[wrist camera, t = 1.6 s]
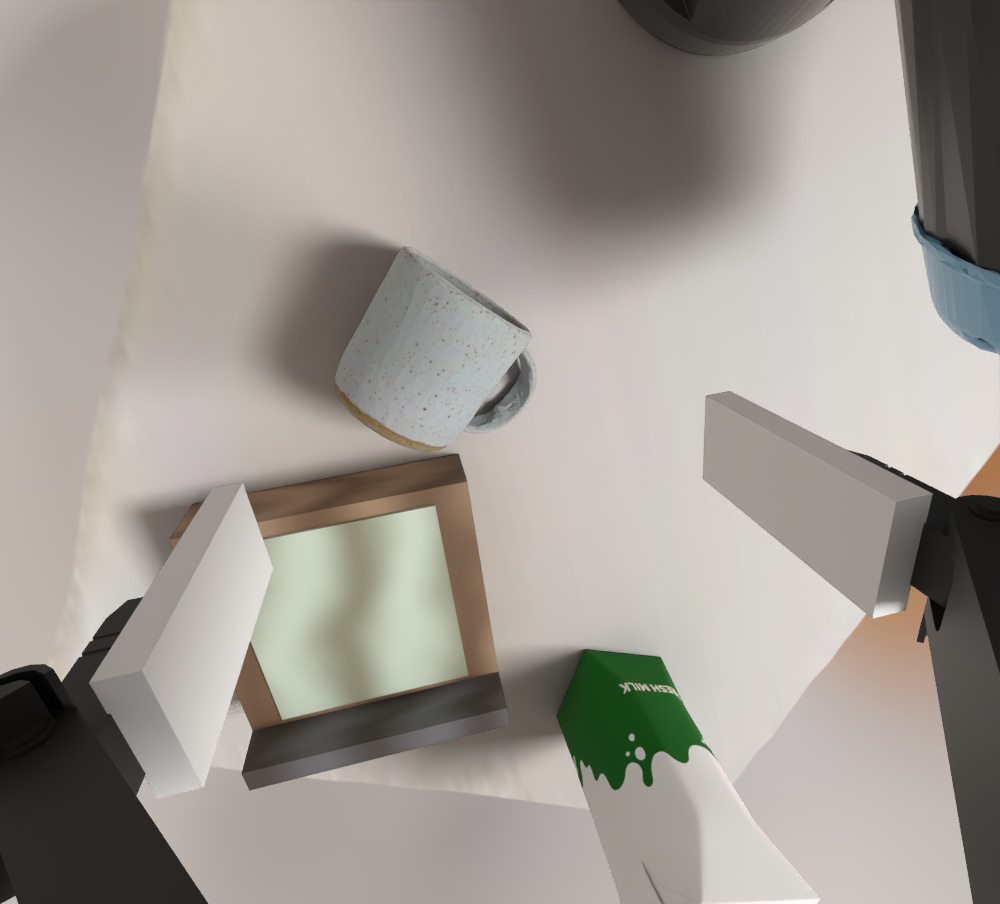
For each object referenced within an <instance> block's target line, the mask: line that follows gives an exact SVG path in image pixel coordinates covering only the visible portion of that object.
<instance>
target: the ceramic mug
mask: <svg viewBox="0 0 1000 904" xmlns="http://www.w3.org/2000/svg"><path fill="white" fill-rule="evenodd" d="M531 337H532V335H531V332H530V331H529V330H528V329H527V328H526V327H525V326H524V325H523V324H521V323H520V322H519V321H518V320H516V319H515V318H514V317H513V316H511V315H510V314H509V313H508V312H506V311H505V310H504V309H503V308H501V307H500V306H498V305H497V304H496V303H495V302H493V301H492V300H491V299H489V298H488V297H487V296H485V295H484V294H482V293H480V292H479V291H477V290H476V289H475V288H473V287H472V286H471V285H470V284H468V283H467V282H465V281H464V280H462V279H461V278H459V277H458V276H456V275H455V274H453V273H452V272H451V271H450V270H448V269H446V268H444V267H443V266H442V265H440V264H438V263H437V262H435V261H433V260H432V259H430V258H429V257H427V256H426V255H424V254H422V253H421V252H419V251H418V250H414V249H412V248H410V247H403V248H402V249H400V251H399V252H398V254H397V256H396V258H395V260H394V262H393V263H392V265H391V267H390V269H389V271H388V273H387V275H386V276H385V278H384V280H383V282H382V283H381V285H380V287H379V289H378V291H377V293H376V294H375V296H374V298H373V300H372V302H371V304H370V305H369V307H368V309H367V311H366V313H365V315H364V317H363V319H362V321H361V322H360V324H359V326H358V328H357V330H356V331H355V333H354V335H353V337H352V338H351V340H350V342H349V344H348V346H347V347H346V349H345V351H344V353H343V355H342V357H341V360H340V363H339V366H338V369H337V372H336V375H335V388H336V391H337V393H338V395H339V398H340V399H341V401H342V402H343V404H344V405H345V407H346V408H347V409H348V410H349V411H350V412H351V413H352V414H353V415H354V416H355V417H356V418H357V419H358V420H360V421H361V422H362V423H363V424H365V425H366V426H367V427H369V428H370V429H372V430H373V431H375V432H376V433H378V434H380V435H381V436H383V437H385V438H387V439H389V440H391V441H393V442H395V443H397V444H399V445H402V446H405V447H408V448H411V449H414V450H419V451H435V450H440V449H443V448H445V447H446V446H447V445H448V444H449V443H451V442H452V441H453V440H454V439H455V438H456V437H457V436H458V435H459V434H460V433H461V432H462V431H465V432H470V433H488V432H491V431H494V430H497V429H499V428H501V427H503V426H504V425H506V424H507V423H509V422H510V421H511V420H513V419H514V418H515V417H516V416H517V415H518V414H519V413H520V412H521V411H522V409H523V408H524V407H525V406H526V404H527V403H528V401H529V400H530V398H531V396H532V394H533V392H534V389H535V386H536V369H535V364H534V362H533V360H532V358H531V356H530V354H529V352H528V351H527V350H526V349H525V347H526V346H527V344H528V343H529V341H530V339H531ZM518 356H519V359H520V364H521V370H520V375H519V376H518V379H517V382H516V383H515V385H514V386H513V387H512V388H511V390H510V391H509V392H508V393H507V395H506V396H505V397H504V398H503V399H502V400H501V402H500V403H498V404H497V405H495V407H494V408H493V410H492V411H490V412H488V413H486V414H483V415H479V416H474V415H475V414H476V412H477V411H478V409H479V408H480V406H481V404H482V403H483V402H484V400H485V399H486V398H487V397H488V395H489V394H490V393H491V391H492V390H493V389H494V388H495V386H496V385H497V384H498V382H499V381H500V380H501V379H502V377H503V376H504V375H505V373H506V372H507V371H508V369H509V368H510V366H511V365H512V364H513V363H514V361H515V360H516V359H517V358H518Z"/></svg>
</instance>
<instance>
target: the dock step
mask: <svg viewBox="0 0 1000 904" xmlns="http://www.w3.org/2000/svg"><path fill="white" fill-rule="evenodd" d="M247 496H248V499H249V502H250V504H251V507H252V510H253V513H254V516H255V519H256V521H257V524H258V527H259V530H260V533H261V535H262V538H263V541H264V544H265V547H266V549H267V552H268V555H269V558H270V561H271V563H272V566H273V570H272V573H271V577H270V580H269V583H268V586H267V589H266V592H265V595H264V599H263V602H262V605H261V608H260V611H259V614H258V618H257V621H256V624H255V627H254V630H253V633H252V636H251V640H250V643H249V646H248V649H247V652H246V655H245V658H244V662H243V665H242V668H241V671H240V674H239V677H238V680H237V684H236V687H235V691H236V693H237V696H238V698H239V700H240V702H241V705H242V707H243V709H244V712H245V714H246V716H247V718H248V721H249V723H250V725H251V727H252V730H253V732H252V736H251V740H250V744H249V747H248V751H247V755H246V759H245V763H244V767H243V770H242V776H243V778H244V780H245V782H246V784H247V786H248V788H249V790H253V789H257V788H261V787H265V786H269V785H273V784H277V783H281V782H285V781H289V780H293V779H297V778H301V777H305V776H309V775H313V774H317V773H321V772H324V771H328V770H332V769H336V768H340V767H344V766H348V765H352V764H356V763H360V762H364V761H368V760H372V759H376V758H380V757H384V756H388V755H392V754H396V753H400V752H404V751H408V750H412V749H416V748H420V747H424V746H428V745H432V744H436V743H440V742H444V741H447V740H451V739H455V738H459V737H463V736H467V735H471V734H475V733H479V732H483V731H487V730H491V729H495V728H499V727H503V726H507V725H510V723H509V717H508V710H507V705H506V701H505V697H504V693H503V689H502V685H501V681H500V677H499V673H498V667H497V661H496V655H495V649H494V643H493V637H492V631H491V624H490V618H489V612H488V606H487V600H486V594H485V588H484V582H483V576H482V570H481V563H480V557H479V551H478V545H477V539H476V533H475V527H474V521H473V515H472V509H471V502H470V496H469V490H468V484H467V480H466V476H465V473H464V470H463V467H462V463H461V460H460V457H459V454H455V455H450V456H445V457H439V458H434V459H429V460H424V461H418V462H413V463H408V464H402V465H397V466H392V467H386V468H381V469H376V470H370V471H365V472H360V473H354V474H349V475H344V476H339V477H333V478H328V479H323V480H317V481H312V482H307V483H301V484H296V485H291V486H285V487H280V488H275V489H269V490H264V491H259V492H253V493H248V494H247ZM202 504H203V502H200V503H195V504H193V505H192V506H191V508H190V509H189V511H188V512H187V514H186V515H185V517H184V518H183V520H182V521H181V523H180V524H179V525H178V527H177V528H176V530H175V531H174V533H173V534H172V536H171V537H170V539H169V541H170V543H171V546H172V548H173V550H174V548H175V546H176V545H177V543H178V542H179V540H180V539H181V537H182V535H183V534H184V532H185V531H186V529H187V528H188V526H189V524H190V523H191V521H192V520H193V518H194V517H195V515H196V513H197V512H198V510H199V509H200V507H201V506H202Z"/></svg>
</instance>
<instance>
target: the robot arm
mask: <svg viewBox="0 0 1000 904" xmlns="http://www.w3.org/2000/svg"><path fill="white" fill-rule="evenodd" d="M619 1H620V2H621V3H622V5H623V6H624V7H625V9H626V10H627V11H628V12H629V13H630V14H631V16H632V17H633V18H634V19H635V20H636V21H637V22H638V23H639V24H640V25H642V26H643V27H644V28H645V29H646V30H647V31H649V32H650V33H651V34H653V35H654V36H656V37H657V38H659V39H660V40H662V41H664V42H665V43H667V44H669V45H671V46H674V47H676V48H678V49H681V50H684V51H687V52H691V53H695V54H702V55H729V54H736V53H740V52H744V51H748V50H751V49H753V48H756V47H759V46H761V45H763V44H765V43H767V42H770V41H772V40H774V39H776V38H778V37H781V36H783V35H785V34H787V33H789V32H791V31H793V30H795V29H796V28H798V27H800V26H802V25H803V24H805V23H806V22H808V21H809V20H811V19H812V18H813V17H815V16H816V15H817V14H818V13H820V12H821V11H822V10H824V9H825V8H826V7H827V6H828V5H830V4H831V3H832V2H833V1H834V0H619ZM895 7H896V16H897V25H898V33H899V42H900V51H901V59H902V68H903V77H904V85H905V94H906V103H907V111H908V120H909V129H910V137H911V146H912V155H913V163H914V172H915V181H916V189H917V198H918V203H917V205H916V206H915V210H914V214H913V216H912V217H911V219H912V228H913V232H914V235H915V237H916V238H917V240H918V242H919V243H920V244H921V245H922V249H923V254H924V260H925V265H926V271H927V276H928V282H929V287H930V293H931V297H932V300H933V303H934V306H935V308H936V310H937V312H938V314H939V316H940V317H941V318H942V320H943V321H944V322H945V323H946V324H947V326H948V327H949V328H950V329H951V330H952V331H953V332H954V333H956V334H957V335H958V336H959V337H961V338H962V339H964V340H965V341H967V342H969V343H971V344H973V345H975V346H976V347H978V348H980V349H982V350H986V351H990V352H994V353H998V354H999V355H1000V0H895ZM703 479H704V480H705V481H706V482H707V483H708V484H710V485H711V486H712V487H713V488H715V489H716V490H717V491H718V492H719V493H721V494H722V495H723V496H724V497H725V498H727V499H728V500H729V501H730V502H732V503H733V504H734V505H735V506H736V507H738V508H739V509H740V510H741V511H742V512H744V513H745V514H746V515H747V516H749V517H750V518H751V519H752V520H753V521H755V522H756V523H757V524H758V525H759V526H761V527H762V528H763V529H764V530H766V531H767V532H768V533H769V534H770V535H772V536H773V537H774V538H775V539H776V540H778V541H779V542H780V543H781V544H783V545H784V546H785V547H786V548H787V549H789V550H790V551H791V552H792V553H793V554H795V555H796V556H797V557H798V558H800V559H801V560H802V561H803V562H804V563H806V564H807V565H808V566H809V567H810V568H812V569H813V570H814V571H815V572H817V573H818V574H819V575H820V576H821V577H823V578H824V579H825V580H826V581H827V582H829V583H830V584H831V585H832V586H834V587H835V588H836V589H837V590H838V591H840V592H841V593H842V594H843V595H844V596H846V597H847V598H848V599H849V600H851V601H852V602H853V603H854V604H855V605H857V606H858V607H859V608H860V609H861V610H863V611H864V612H865V613H866V614H868V615H869V616H870V617H871V618H877V617H881V616H885V615H889V614H892V613H897V612H901V611H904V610H906V606H907V602H908V598H909V593H910V589H911V585H912V586H913V587H915V588H916V589H918V590H919V591H921V592H922V593H923V594H925V595H926V596H928V598H927V602H926V606H925V610H924V614H923V618H922V622H921V626H920V630H919V634H918V638H917V642H922V643H924V639H925V636H927V635H928V639H929V645H930V651H931V656H932V663H933V668H934V675H935V681H936V686H937V693H938V699H939V704H940V710H941V716H942V722H943V727H944V734H945V740H946V746H947V752H948V758H949V764H950V770H951V776H952V781H953V787H954V793H955V799H956V805H957V811H958V817H959V823H960V828H961V835H962V841H963V846H964V853H965V858H966V864H967V870H968V876H969V882H970V888H971V893H972V900H973V904H1000V498H997V497H992V496H982V495H970V496H962V497H958V498H956V499H955V498H953V497H951V496H949V495H947V494H945V493H943V492H941V491H939V490H937V489H935V488H933V487H931V486H929V485H927V484H925V483H923V482H921V481H919V480H917V479H915V478H913V477H911V476H909V475H905V476H904V473H902V472H900V471H898V470H896V469H894V468H892V467H890V468H889V467H888V465H886V464H884V463H882V462H880V461H878V460H876V459H874V458H872V457H870V456H867V455H864V454H860V453H856V452H853V451H849V450H846V449H844V448H842V447H840V446H838V445H836V444H834V443H832V442H830V441H828V440H826V439H824V438H822V437H820V436H818V435H816V434H814V433H812V432H810V431H808V430H806V429H804V428H802V427H800V426H798V425H796V424H794V423H792V422H790V421H788V420H786V419H784V418H782V417H780V416H778V415H776V414H774V413H772V412H770V411H768V410H766V409H764V408H762V407H760V406H758V405H756V404H754V403H752V402H750V401H748V400H746V399H744V398H743V397H741V396H739V395H737V394H735V393H733V392H731V391H728V392H722V393H717V394H712V395H706V401H705V430H704V458H703ZM272 570H273V566H272V563H271V561H270V558H269V555H268V552H267V549H266V547H265V544H264V541H263V538H262V535H261V533H260V530H259V527H258V524H257V521H256V519H255V516H254V513H253V510H252V507H251V504H250V502H249V499H248V496H247V493H246V490H245V488H244V485H243V483H238V484H233V485H227V486H222V487H217V488H212V490H211V491H210V493H209V494H208V496H207V498H206V499H205V501H204V502H203V504H202V506H201V507H200V509H199V510H198V512H197V513H196V515H195V517H194V518H193V520H192V521H191V523H190V524H189V526H188V528H187V529H186V531H185V532H184V534H183V535H182V537H181V539H180V540H179V542H178V543H177V545H176V546H175V548H174V550H173V551H172V553H171V554H170V556H169V557H168V559H167V561H166V562H165V564H164V565H163V567H162V568H161V570H160V572H159V573H158V575H157V576H156V578H155V580H154V581H153V583H152V584H151V586H150V587H149V589H148V591H147V592H146V594H145V595H144V597H141V598H136V599H132V600H127V601H126V602H125V603H124V604H123V605H122V606H120V607H119V608H118V609H117V610H116V611H114V612H113V613H112V614H111V615H110V616H109V617H107V618H106V619H105V621H104V622H103V624H102V625H101V627H100V628H99V629H98V631H97V632H96V634H95V635H94V637H93V641H90V642H89V644H88V645H87V647H86V648H85V650H84V651H83V652H82V657H79V658H78V660H77V661H76V663H75V664H74V665H73V667H72V668H71V670H70V671H69V673H68V674H67V676H66V677H65V678H64V680H63V681H62V682H61V681H60V679H59V678H58V676H57V674H56V673H55V671H54V669H52V668H51V667H49V666H47V665H45V664H41V665H28V666H24V667H21V668H17V669H13V670H10V671H8V672H6V673H4V674H2V675H0V904H1V903H3V902H5V901H6V900H8V899H10V898H12V897H14V896H16V898H17V901H18V903H19V904H208V903H207V901H206V900H205V898H204V897H203V895H202V894H201V892H200V891H199V889H198V888H197V886H196V885H195V883H194V882H193V880H192V879H191V877H190V876H189V874H188V873H187V871H186V870H185V868H184V867H183V865H182V864H181V862H180V861H179V859H178V858H177V856H176V855H175V853H174V852H173V850H172V849H171V847H170V846H169V844H168V843H167V841H166V840H165V838H164V837H163V835H162V834H161V832H160V831H159V829H158V828H157V826H156V825H155V823H154V822H153V820H152V819H151V817H150V816H149V815H148V813H147V812H146V810H145V809H144V807H143V805H142V804H141V803H140V801H139V800H138V798H137V797H136V795H137V793H138V791H139V788H140V785H141V783H142V781H143V779H144V777H145V779H146V781H147V782H148V784H149V786H150V787H151V789H152V791H153V793H154V794H155V796H156V798H157V799H160V798H164V797H168V796H172V795H175V794H180V793H184V792H188V791H192V790H195V789H199V788H203V787H204V784H205V781H206V778H207V775H208V772H209V769H210V765H211V762H212V759H213V756H214V753H215V750H216V747H217V743H218V740H219V737H220V734H221V731H222V728H223V725H224V721H225V718H226V715H227V712H228V709H229V706H230V703H231V699H232V696H233V693H234V690H235V687H236V684H237V680H238V677H239V674H240V671H241V668H242V665H243V662H244V658H245V655H246V652H247V649H248V646H249V643H250V640H251V636H252V633H253V630H254V627H255V624H256V621H257V618H258V614H259V611H260V608H261V605H262V602H263V599H264V595H265V592H266V589H267V586H268V583H269V580H270V577H271V573H272Z"/></svg>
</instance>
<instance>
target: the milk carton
mask: <svg viewBox="0 0 1000 904" xmlns="http://www.w3.org/2000/svg"><path fill="white" fill-rule="evenodd" d="M557 719H558V721H559V724H560V727H561V730H562V732H563V735H564V738H565V740H566V743H567V746H568V748H569V751H570V754H571V757H572V759H573V762H574V765H575V768H576V771H577V774H578V777H579V779H580V782H581V785H582V788H583V791H584V794H585V797H586V800H587V803H588V806H589V809H590V812H591V815H592V817H593V820H594V823H595V826H596V829H597V832H598V835H599V838H600V841H601V844H602V847H603V850H604V853H605V856H606V858H607V861H608V864H609V867H610V870H611V873H612V876H613V879H614V882H615V885H616V888H617V891H618V895H619V898H620V902H621V904H817V902H818V901H819V900H820V898H819V897H818V896H817V895H816V894H815V893H814V891H813V890H812V889H811V888H810V887H809V885H807V883H806V882H805V881H804V880H803V878H802V877H800V875H799V874H798V873H797V871H796V870H795V869H794V868H793V867H792V866H791V865H790V863H789V862H788V861H787V860H786V859H785V857H784V856H783V855H782V854H781V853H780V851H779V850H778V849H777V848H776V847H775V846H774V844H773V843H772V842H771V841H770V840H769V838H768V837H767V836H766V835H765V834H764V833H763V831H762V830H761V829H760V828H759V826H758V825H757V824H756V823H755V821H754V820H753V818H752V817H751V815H750V814H749V812H748V810H747V809H746V807H745V805H744V804H743V802H742V801H741V799H740V797H739V796H738V794H737V792H736V791H735V789H734V787H733V786H732V784H731V782H730V781H729V779H728V778H727V776H726V774H725V773H724V771H723V769H722V768H721V766H720V764H719V763H718V761H717V759H716V758H715V756H714V754H713V753H712V751H711V750H710V748H709V746H708V745H707V743H706V741H705V740H704V738H703V736H702V735H701V733H700V731H699V730H698V728H697V726H696V725H695V723H694V721H693V720H692V718H691V716H690V715H689V713H688V711H687V710H686V708H685V706H684V704H683V702H682V700H681V698H680V696H679V694H678V692H677V690H676V688H675V685H674V683H673V681H672V679H671V677H670V675H669V673H668V671H667V669H666V667H665V665H664V663H663V661H662V659H661V657H652V656H642V655H632V654H622V653H612V652H602V651H592V650H584V653H583V655H582V658H581V660H580V662H579V665H578V667H577V670H576V672H575V674H574V677H573V679H572V681H571V684H570V686H569V689H568V691H567V693H566V696H565V698H564V700H563V703H562V705H561V708H560V710H559V712H558V715H557Z"/></svg>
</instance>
